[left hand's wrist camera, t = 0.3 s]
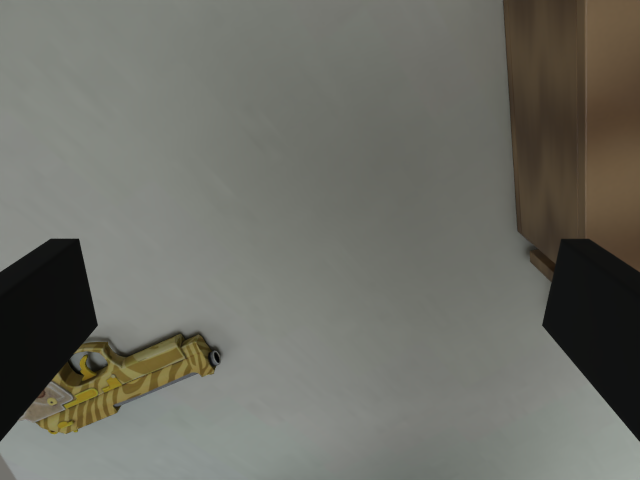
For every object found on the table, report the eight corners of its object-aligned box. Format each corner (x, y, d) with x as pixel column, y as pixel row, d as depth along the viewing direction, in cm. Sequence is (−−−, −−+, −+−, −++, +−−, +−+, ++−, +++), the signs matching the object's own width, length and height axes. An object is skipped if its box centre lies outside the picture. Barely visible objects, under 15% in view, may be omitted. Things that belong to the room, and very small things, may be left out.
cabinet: (642, 205, 41) (757, 257, 30) (517, 231, 41) (585, 290, 31) (655, -65, 33) (817, -126, 22) (501, -27, 34) (585, -67, 23)
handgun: (148, 241, 42) (227, 361, 47) (-42, 331, 45) (50, 434, 50) (138, 251, 40) (222, 376, 45) (-62, 345, 43) (37, 452, 48)
